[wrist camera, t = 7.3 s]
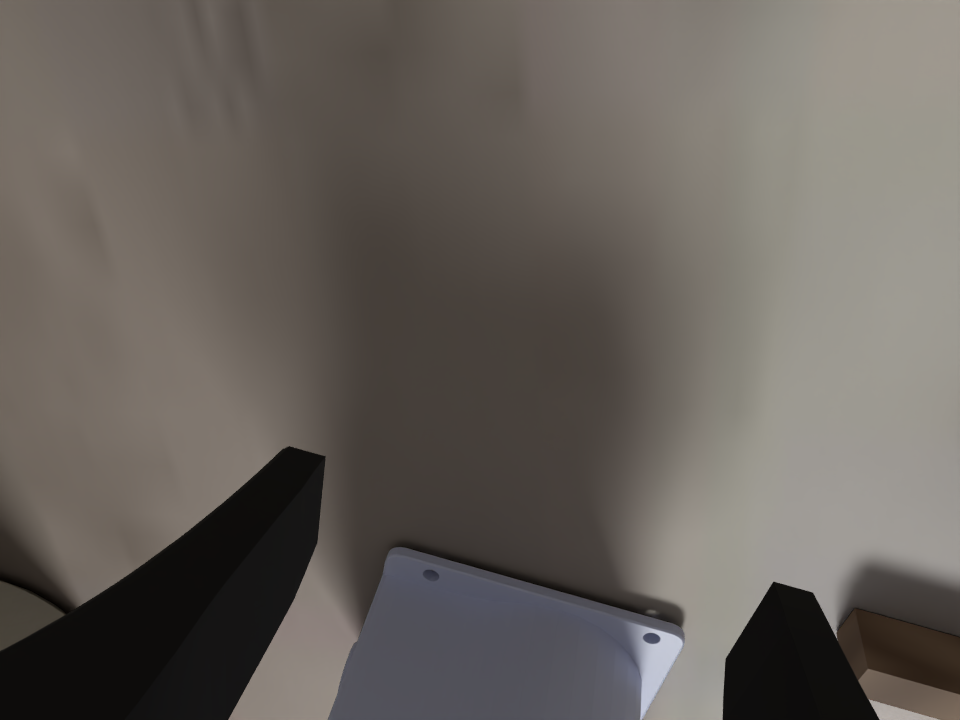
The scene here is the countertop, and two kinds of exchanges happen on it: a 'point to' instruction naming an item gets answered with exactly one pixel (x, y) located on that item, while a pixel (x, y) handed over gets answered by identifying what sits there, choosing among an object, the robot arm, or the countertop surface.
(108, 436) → the countertop surface
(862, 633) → the bar
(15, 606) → the travel mug
